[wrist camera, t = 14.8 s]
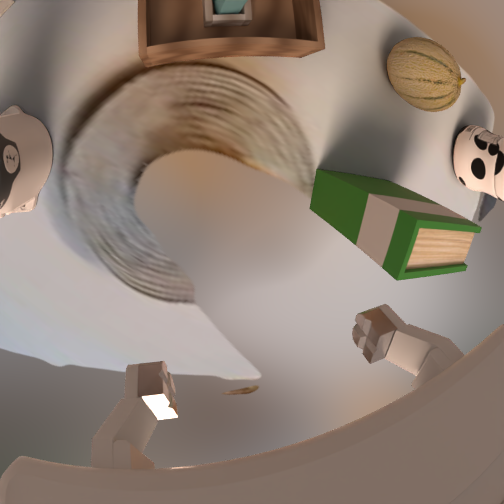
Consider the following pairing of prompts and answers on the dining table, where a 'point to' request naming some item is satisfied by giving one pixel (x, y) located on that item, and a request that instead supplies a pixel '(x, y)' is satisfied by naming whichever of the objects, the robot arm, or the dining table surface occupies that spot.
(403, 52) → the cantaloupe
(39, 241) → the dining table surface
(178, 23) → the walled box
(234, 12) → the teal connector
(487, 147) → the milk container
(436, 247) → the hardback book
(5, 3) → the supplement box
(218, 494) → the robot arm
